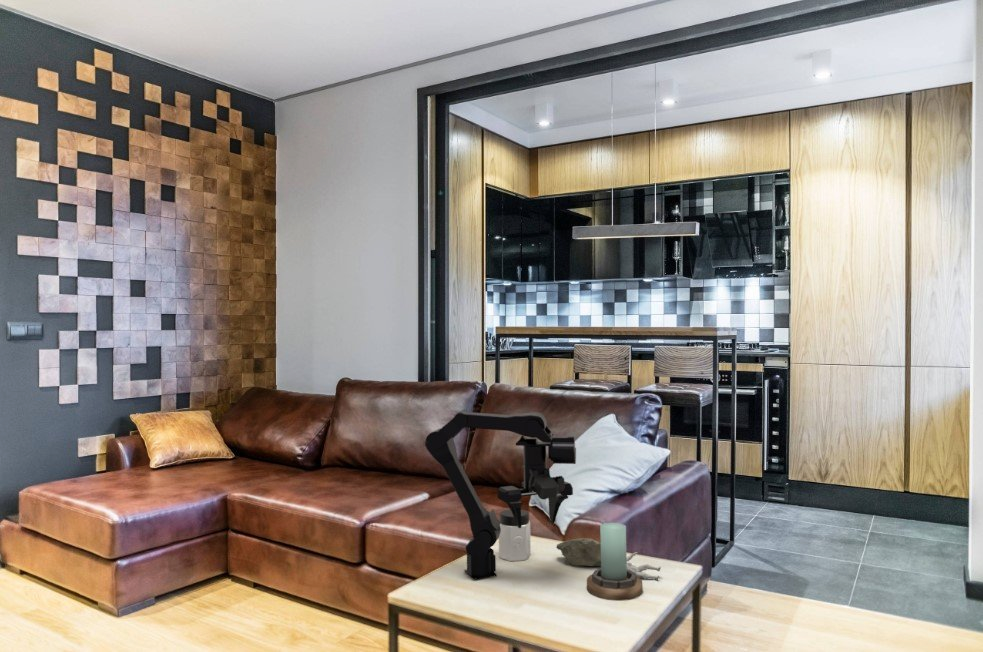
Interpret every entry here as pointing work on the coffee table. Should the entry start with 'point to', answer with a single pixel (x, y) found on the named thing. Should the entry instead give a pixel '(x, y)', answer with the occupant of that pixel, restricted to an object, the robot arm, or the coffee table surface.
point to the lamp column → (613, 552)
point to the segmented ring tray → (614, 586)
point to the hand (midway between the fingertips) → (536, 525)
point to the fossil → (581, 551)
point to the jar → (514, 537)
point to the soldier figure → (641, 569)
